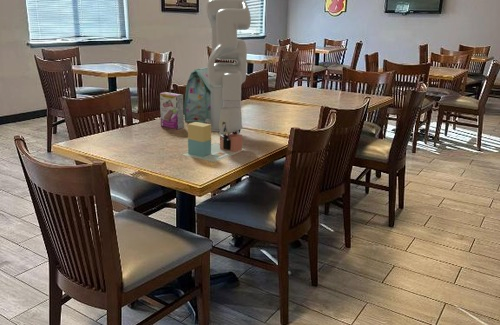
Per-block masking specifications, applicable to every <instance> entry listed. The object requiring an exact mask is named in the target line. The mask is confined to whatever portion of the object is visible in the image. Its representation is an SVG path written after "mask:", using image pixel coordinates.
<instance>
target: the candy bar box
mask: <svg viewBox="0 0 500 325" xmlns="http://www.w3.org/2000/svg"><path fill="white" fill-rule="evenodd" d="M159 109H160V111H159V112H160V115H159V116H160V127H163V128H168V129H174V130H181V129H184V128H185V120H184V94H180V93H173V92H167V91H164V92H160V93H159Z"/></svg>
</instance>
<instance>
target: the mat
mask: <svg viewBox="0 0 500 325" xmlns="http://www.w3.org/2000/svg"><path fill="white" fill-rule="evenodd" d="M245 150H247V148H243V147H242V149H241V150H239V151H237V152H232V151H227V150H222V149H220V142H219V143H218V142H213V143H211V154H212V153H215V152H221V153H225V154H229V155H228V156H225V157H223V158H216V157H211V156H205V157H201V156H196V155H192V154H188V152H186V153H183V154H181V156H186V157H188V158H189V157H190V158H195V159H197V160H198V159H199V160H203V161H208V162H211V163H217V162H219V161H221V160H223V159H226V158H228V157H231V156H233V155H236V154H238V153H241V152H242V151H243V152H244V151H245Z"/></svg>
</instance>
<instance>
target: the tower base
mask: <svg viewBox="0 0 500 325" xmlns="http://www.w3.org/2000/svg"><path fill="white" fill-rule="evenodd" d="M211 144H212V131H211V124H209V123H207V124H206V123H200V122H196V121H193V122H189V123H188V124H187V151H188V152H187V153H188V154H192V155H196V156H201V157H205V156H208V155H210V154H211Z"/></svg>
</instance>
